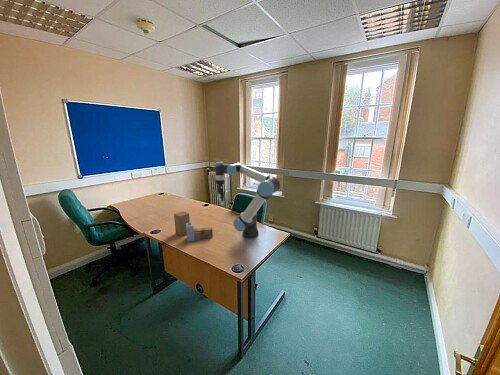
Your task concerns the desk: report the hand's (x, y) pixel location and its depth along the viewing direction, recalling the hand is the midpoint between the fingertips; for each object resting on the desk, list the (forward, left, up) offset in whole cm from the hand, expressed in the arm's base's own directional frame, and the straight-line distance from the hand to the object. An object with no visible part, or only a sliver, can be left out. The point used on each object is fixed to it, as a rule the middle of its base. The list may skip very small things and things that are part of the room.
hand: (221, 202), depth 188 cm
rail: (+17, +1, -31) cm, 36 cm away
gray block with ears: (+26, +2, -31) cm, 40 cm away
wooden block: (+36, -12, -31) cm, 49 cm away
